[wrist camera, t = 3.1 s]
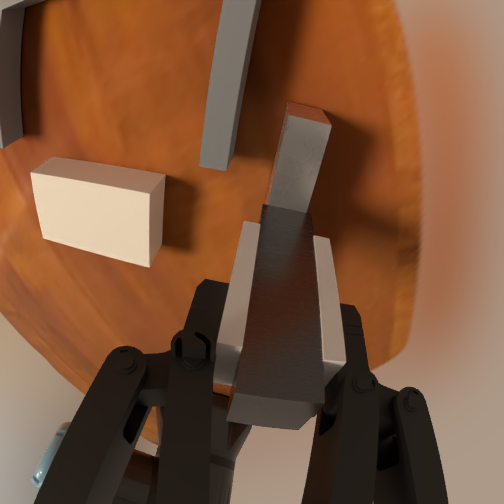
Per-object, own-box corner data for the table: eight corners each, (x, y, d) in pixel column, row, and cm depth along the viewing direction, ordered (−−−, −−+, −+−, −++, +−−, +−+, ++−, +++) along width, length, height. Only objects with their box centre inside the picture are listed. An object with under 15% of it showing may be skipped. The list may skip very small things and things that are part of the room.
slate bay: (233, 155, 18) (226, 171, 16) (12, 136, 17) (-8, 148, 15) (270, -38, 10) (267, -52, 8) (15, -5, 10) (-7, -3, 8)
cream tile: (162, 242, 23) (149, 267, 21) (61, 218, 23) (43, 238, 20) (166, 173, 19) (149, 193, 17) (53, 155, 19) (30, 172, 16)
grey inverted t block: (281, 267, 23) (268, 456, 12) (248, 261, 23) (216, 449, 12) (326, 110, 15) (420, 283, 4) (283, 100, 15) (276, 254, 4)
